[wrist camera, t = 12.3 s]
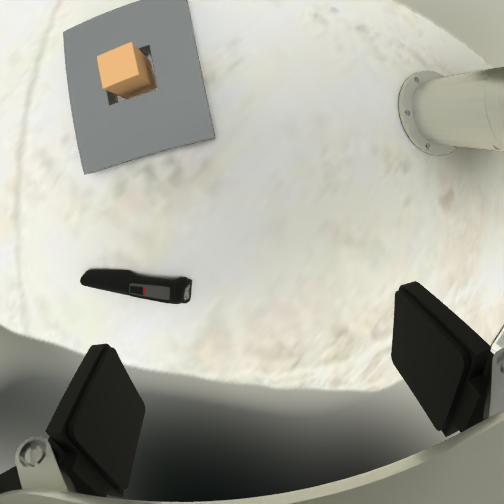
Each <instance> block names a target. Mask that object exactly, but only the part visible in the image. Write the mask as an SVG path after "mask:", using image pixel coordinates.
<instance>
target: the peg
mask: <svg viewBox="0 0 504 504" xmlns="http://www.w3.org/2000/svg"><path fill="white" fill-rule="evenodd" d="M97 61H98V67H99V72H100V77H101V82H102V87H103V89H104V90H107V91H109V92H112V93H114V94H116V95H119V96H121V97H123V98H126V99H128V98H131V97H133V96H136V95H139V94H141V93H144V92H147V91H150V90H153V89H155V88H156V83H155V79H154V75H153V71H152V67H151V62H150V60H149V59H148V58H147V57H146V56H145V55H144V54H143V53H142V52H141V51H140V50H139V49H138V48H137V47H136V46H135V45H134V44H133V42H130V43H127V44H125V45H122V46H120V47H118V48H115V49H113V50H110V51H108V52H106V53H104V54H101V55H99V56H97Z"/></svg>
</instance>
